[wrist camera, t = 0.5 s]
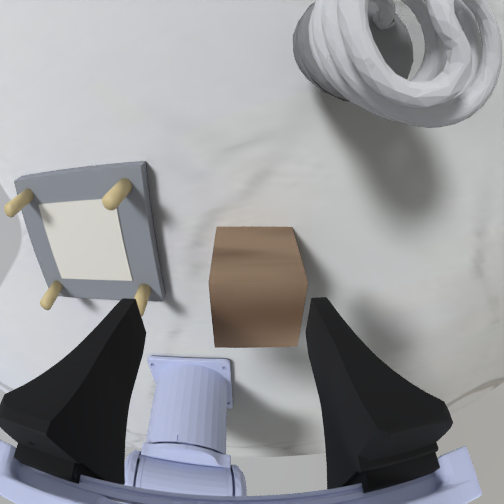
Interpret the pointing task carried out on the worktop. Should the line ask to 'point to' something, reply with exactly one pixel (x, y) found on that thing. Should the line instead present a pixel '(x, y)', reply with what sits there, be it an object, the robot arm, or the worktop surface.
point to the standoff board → (92, 232)
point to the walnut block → (256, 287)
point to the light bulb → (402, 57)
